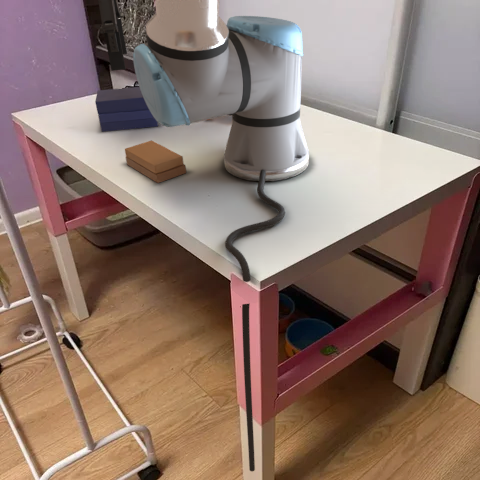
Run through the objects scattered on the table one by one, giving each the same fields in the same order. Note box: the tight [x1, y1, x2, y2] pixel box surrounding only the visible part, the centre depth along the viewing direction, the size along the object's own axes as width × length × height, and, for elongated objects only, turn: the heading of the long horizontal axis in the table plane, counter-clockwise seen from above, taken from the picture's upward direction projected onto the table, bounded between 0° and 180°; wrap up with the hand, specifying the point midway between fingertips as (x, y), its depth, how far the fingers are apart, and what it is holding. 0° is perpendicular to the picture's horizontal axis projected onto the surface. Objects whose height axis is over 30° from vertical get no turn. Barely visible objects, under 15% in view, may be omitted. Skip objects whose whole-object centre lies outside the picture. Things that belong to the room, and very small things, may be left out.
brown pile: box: [124, 140, 187, 184], centre depth 92 cm, size 11×6×3 cm, turn 39°
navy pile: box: [97, 109, 159, 133], centre depth 111 cm, size 12×8×4 cm, turn 99°
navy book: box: [94, 86, 149, 115], centre depth 110 cm, size 12×8×2 cm, turn 99°
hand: (119, 61), depth 104 cm, fingers open, 13 cm apart
